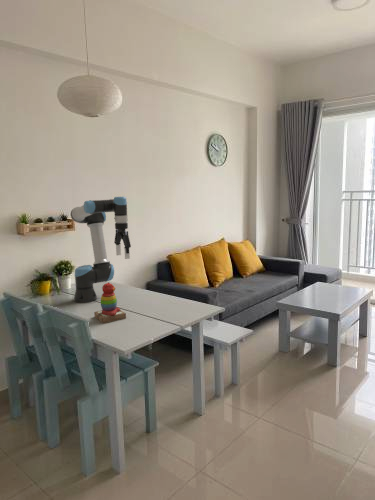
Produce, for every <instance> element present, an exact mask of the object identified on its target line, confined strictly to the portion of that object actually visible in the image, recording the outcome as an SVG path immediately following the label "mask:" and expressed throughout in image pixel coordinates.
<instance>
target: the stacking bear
mask: <svg viewBox="0 0 375 500" xmlns="http://www.w3.org/2000/svg"><path fill="white" fill-rule="evenodd" d="M101 289H102V292H103V293H102V294H101V296H100V306H101V311H102V314H104V315H109V316H113V315H116V312H119V311H120V310H121V308H120V307H117V303H118V300H117V296H116V293H115V290H116V287H115V286H114V285H113V284H112V283H111V282H110V281H107V283H103V284H102V287H101Z"/></svg>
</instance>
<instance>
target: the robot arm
mask: <svg viewBox="0 0 375 500" xmlns="http://www.w3.org/2000/svg"><path fill="white" fill-rule="evenodd" d="M127 204H128V202H127V196H114V197H113V198H110V199H100V200H99V199H98V200H97V199H96V200H84V203H83V205H81V206H76V207H73V209H71V211H70V218H71V219H72V221H73V222H75V223H77V224H78V223H79V224H86V226H87V227H88V228H89V231H90V237H91V244H92V252H93V258H94V262H93V263H92V265H91V264H84V265H80V266H77V267H76V268H75V269H74V279H75V280H74V283H75V291H74V295H73V300H74V302H75V303H80V304H82V303H84V304H85V303H91V302H94V301H96V300H97V298H98V297H97V296H98V295H97V294H96V291H95V289H94V285H95V284H99V283H105V282H107V283H108V282H110V281H112V280H114V279H113V278H114V275H115V267H114V265H113V264H112V263H111V262H110V261H109V259H108V257H107V249H106V243H105V242H106V241H105V236H104V230H103V226H104V225H105V222H106V220H107V216H106V215H107V214H106V213H112V212H113V213H114V222H115V223H114V228H115V234H114V235H115V236H114V243H113V244H115V249H116V250H115V252H116V253H115V254H116V256H121V255H122V253H121V251H122V249H121V248H122V247H121V246H122V245H121V244H122V243H121V241H122V242H123V245H124V247H123V249H124V259H125V260H128V259H131V258H130V257H131V256H130V248H131V246H132V245H131V241H130V236H129V231H127V230H128V229H129V227H128V205H127Z"/></svg>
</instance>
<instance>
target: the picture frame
mask: <svg viewBox="0 0 375 500" xmlns="http://www.w3.org/2000/svg"><path fill="white" fill-rule="evenodd" d="M94 318H96V319H97V320H98V321H99V322H101V323H102V324H107V323H111V322H117V321H120V320H121V321H122V320H124V319H127V313H126V312H124V311H123V310H121V309H120V311H119V312H116V315H113V316H109V315H104V314H102V310H97V311H94Z"/></svg>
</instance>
